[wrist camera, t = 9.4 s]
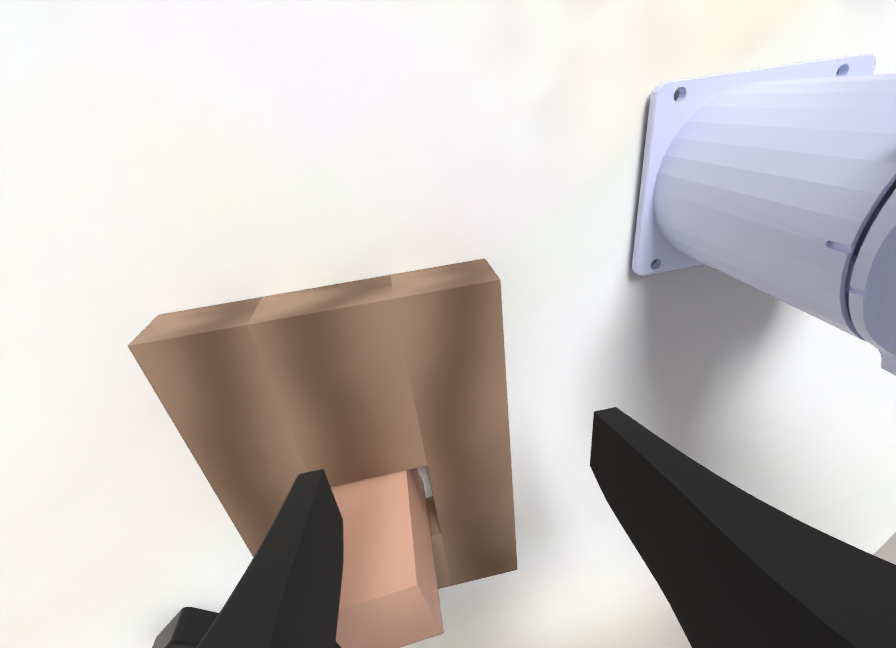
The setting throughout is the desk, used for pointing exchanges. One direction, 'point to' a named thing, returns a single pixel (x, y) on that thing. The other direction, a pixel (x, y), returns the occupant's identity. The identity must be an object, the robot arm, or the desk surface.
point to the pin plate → (351, 401)
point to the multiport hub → (188, 629)
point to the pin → (386, 563)
